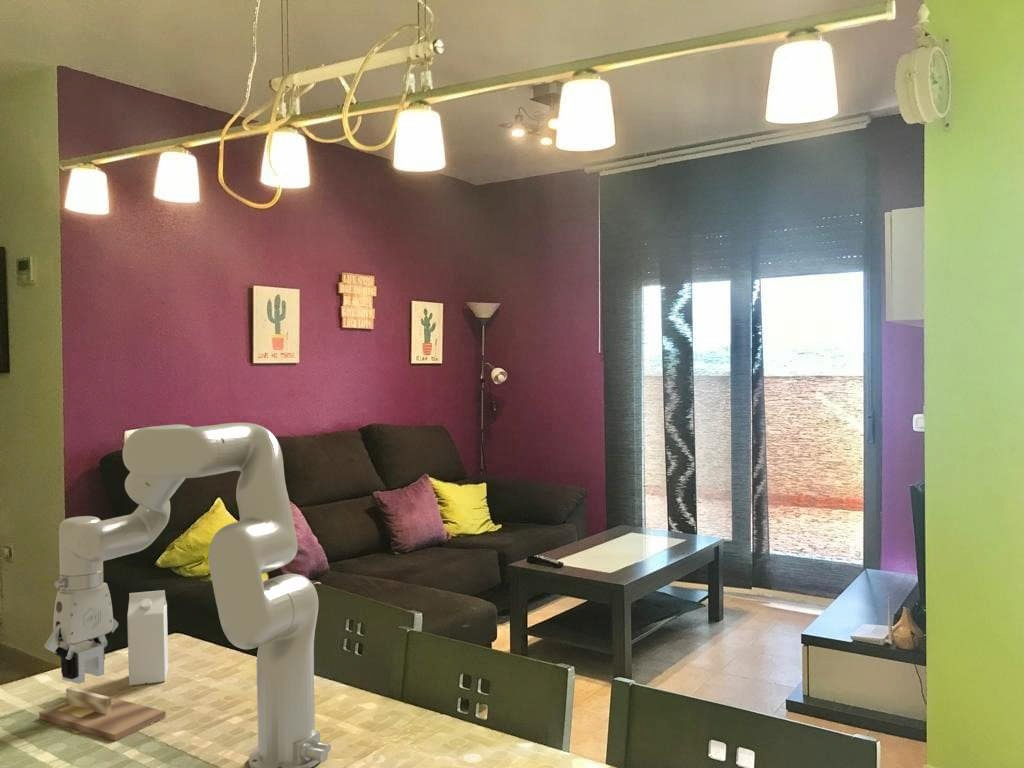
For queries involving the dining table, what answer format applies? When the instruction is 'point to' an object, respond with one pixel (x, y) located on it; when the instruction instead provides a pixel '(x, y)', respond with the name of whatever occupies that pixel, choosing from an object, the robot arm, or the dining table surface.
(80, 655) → the notched grey block
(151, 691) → the dining table surface
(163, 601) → the milk carton
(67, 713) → the rail board
